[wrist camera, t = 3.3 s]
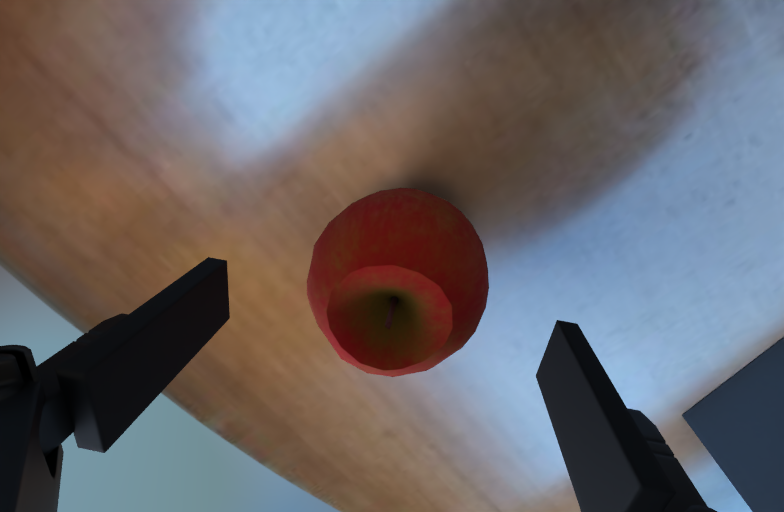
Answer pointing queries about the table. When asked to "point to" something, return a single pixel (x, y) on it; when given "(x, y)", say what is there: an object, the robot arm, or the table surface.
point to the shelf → (748, 430)
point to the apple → (398, 282)
